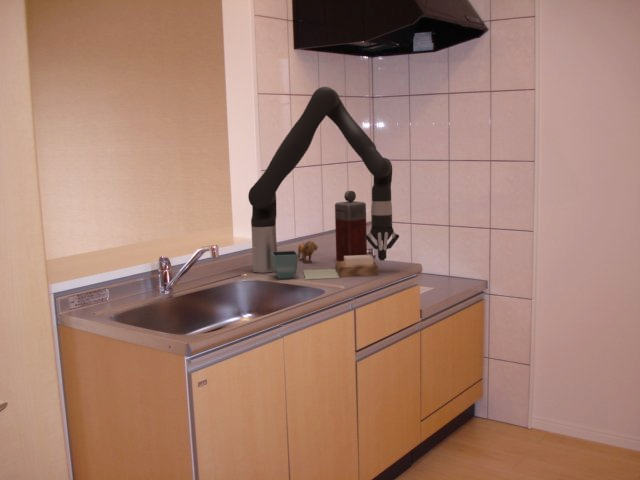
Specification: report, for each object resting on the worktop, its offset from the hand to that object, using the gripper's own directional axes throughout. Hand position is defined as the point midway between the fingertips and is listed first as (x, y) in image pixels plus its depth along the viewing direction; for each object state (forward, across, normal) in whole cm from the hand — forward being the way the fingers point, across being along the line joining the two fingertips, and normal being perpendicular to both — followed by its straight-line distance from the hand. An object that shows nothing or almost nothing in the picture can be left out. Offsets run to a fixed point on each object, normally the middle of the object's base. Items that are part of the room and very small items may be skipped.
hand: (382, 260), depth 264 cm
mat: (+4, -23, 0) cm, 23 cm away
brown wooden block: (+4, -10, 0) cm, 11 cm away
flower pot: (+5, -36, -2) cm, 36 cm away
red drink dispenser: (+5, -9, +26) cm, 28 cm away
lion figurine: (+5, -26, +28) cm, 38 cm away
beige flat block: (+1, -9, 0) cm, 9 cm away
